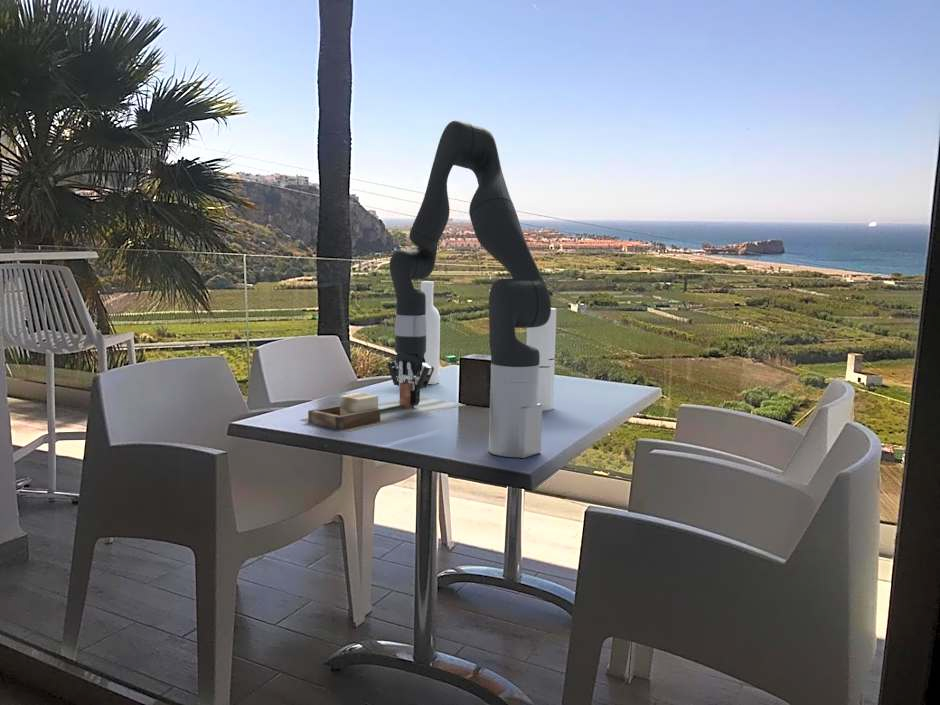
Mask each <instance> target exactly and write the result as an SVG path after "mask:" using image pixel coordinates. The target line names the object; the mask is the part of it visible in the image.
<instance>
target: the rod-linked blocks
mask: <svg viewBox="0 0 940 705" xmlns="http://www.w3.org/2000/svg"><path fill="white" fill-rule="evenodd" d="M411 391H412V390H411V384H410V382H405V381H404V383H400V388H399V400H400V405H398V406H393V407H388V408H383V409H380V412H385V411H389V410H394V409H399V408H404V409H410V408H414V406H411V404H410V401H411ZM378 404H379V395H374V394H369V393H365V392H355V393H350V394H344V395H339V405H340V416H341V415H346V414H351V413H356V412H361V411H366V410H371V409H376V408H377V409H378Z"/></svg>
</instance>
